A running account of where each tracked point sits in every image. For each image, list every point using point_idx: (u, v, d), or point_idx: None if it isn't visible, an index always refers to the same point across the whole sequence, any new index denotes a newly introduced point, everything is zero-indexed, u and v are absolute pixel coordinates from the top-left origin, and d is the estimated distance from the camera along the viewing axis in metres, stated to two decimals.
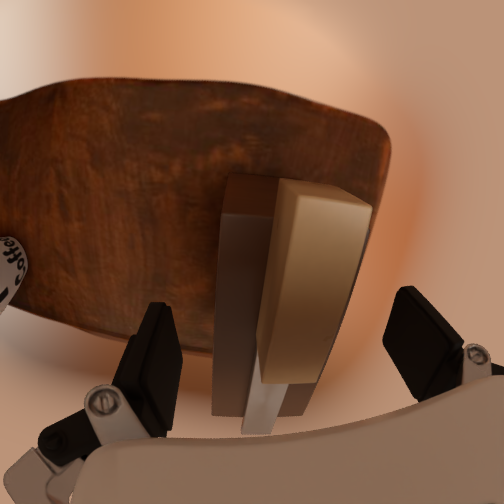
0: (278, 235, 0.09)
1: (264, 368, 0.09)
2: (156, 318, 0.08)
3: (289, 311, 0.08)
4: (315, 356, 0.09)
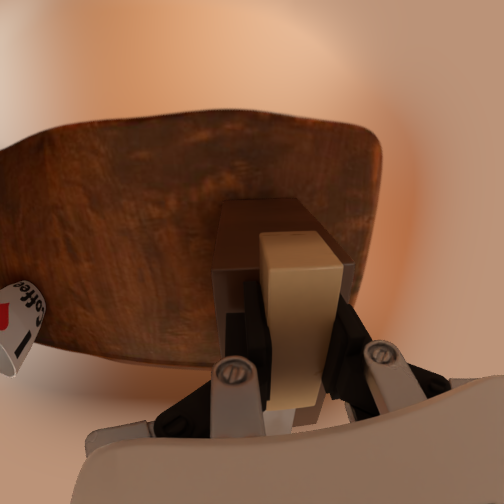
0: (262, 291, 0.09)
1: None
2: (257, 294, 0.10)
3: (278, 358, 0.09)
4: (309, 387, 0.10)
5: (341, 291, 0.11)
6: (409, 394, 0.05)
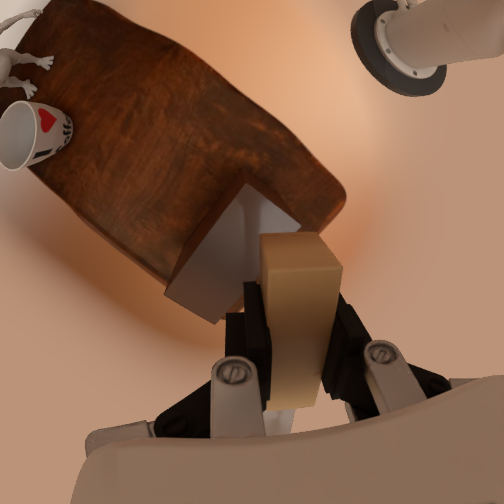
0: (262, 291, 0.09)
1: None
2: (257, 294, 0.10)
3: (277, 358, 0.09)
4: (308, 387, 0.10)
5: None
6: (409, 394, 0.05)
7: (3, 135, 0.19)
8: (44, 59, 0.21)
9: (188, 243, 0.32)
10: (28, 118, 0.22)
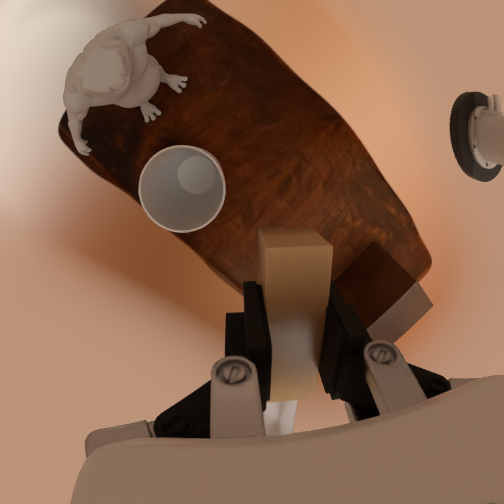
0: (261, 278, 0.10)
1: None
2: (257, 294, 0.10)
3: (276, 341, 0.09)
4: (307, 375, 0.10)
5: (425, 311, 0.29)
6: (409, 394, 0.05)
7: (145, 177, 0.24)
8: (174, 78, 0.26)
9: None
10: (170, 157, 0.27)
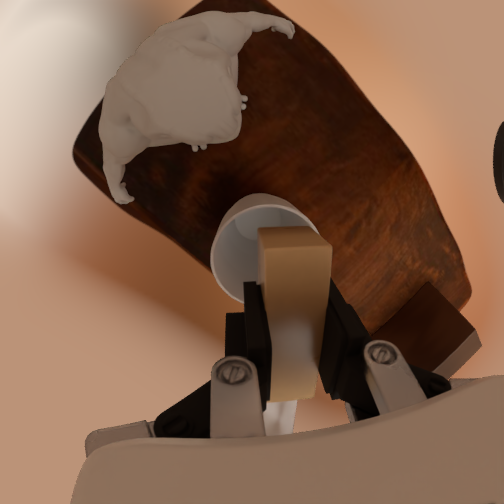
0: (260, 278, 0.10)
1: None
2: (257, 294, 0.10)
3: (275, 341, 0.09)
4: (307, 375, 0.10)
5: (474, 351, 0.24)
6: (409, 394, 0.05)
7: None
8: None
9: None
10: None
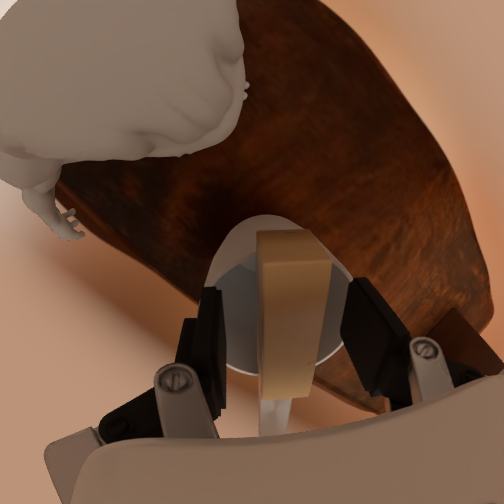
0: (258, 284, 0.10)
1: (261, 389, 0.11)
2: (213, 300, 0.09)
3: (272, 347, 0.09)
4: (303, 377, 0.10)
5: None
6: (442, 389, 0.05)
7: None
8: None
9: None
10: None
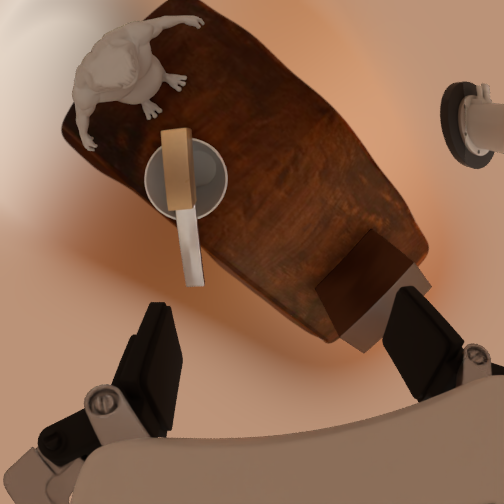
0: None
1: (167, 201, 0.22)
2: (156, 318, 0.08)
3: (167, 170, 0.21)
4: (185, 191, 0.22)
5: (424, 292, 0.30)
6: None
7: (150, 169, 0.25)
8: (174, 77, 0.28)
9: (332, 290, 0.38)
10: None
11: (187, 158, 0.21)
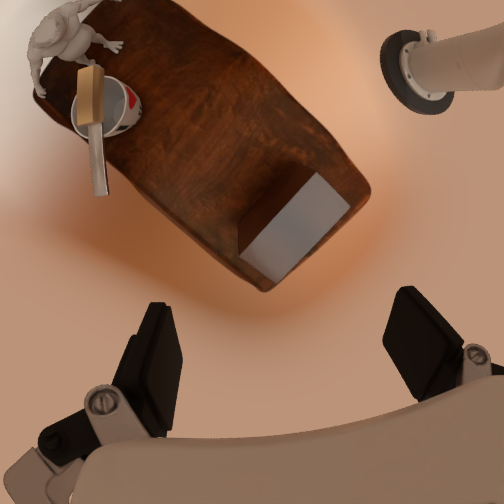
0: None
1: (77, 118, 0.22)
2: (156, 318, 0.08)
3: (79, 95, 0.21)
4: (88, 109, 0.22)
5: (340, 212, 0.30)
6: None
7: None
8: (113, 43, 0.28)
9: (248, 219, 0.38)
10: None
11: (92, 85, 0.21)
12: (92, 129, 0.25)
